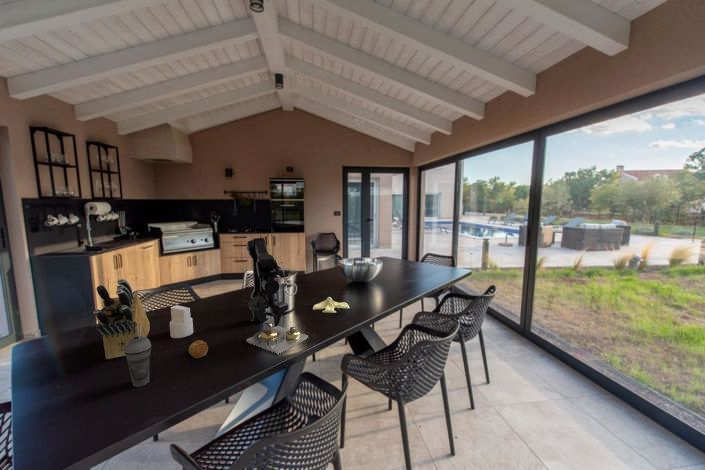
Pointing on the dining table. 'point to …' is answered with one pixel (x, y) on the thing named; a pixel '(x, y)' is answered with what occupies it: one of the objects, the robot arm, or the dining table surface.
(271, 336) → the gear
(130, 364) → the beverage cup
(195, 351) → the pastry
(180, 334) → the cylinder with rectangular tab
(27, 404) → the dining table surface
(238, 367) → the dining table surface
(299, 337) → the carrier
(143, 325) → the knife block
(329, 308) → the bird figurine
